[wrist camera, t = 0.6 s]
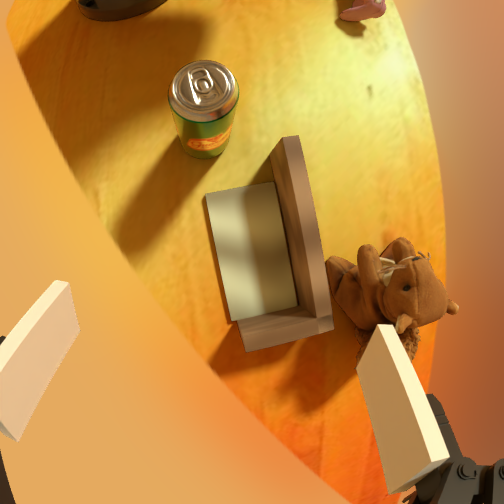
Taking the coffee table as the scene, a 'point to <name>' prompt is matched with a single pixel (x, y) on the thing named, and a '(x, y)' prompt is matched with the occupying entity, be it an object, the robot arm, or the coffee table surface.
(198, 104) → the soda can
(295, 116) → the coffee table surface
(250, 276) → the brown wooden angled piece
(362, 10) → the video game controller
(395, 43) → the coffee table surface
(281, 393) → the coffee table surface
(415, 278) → the stuffed squirrel
